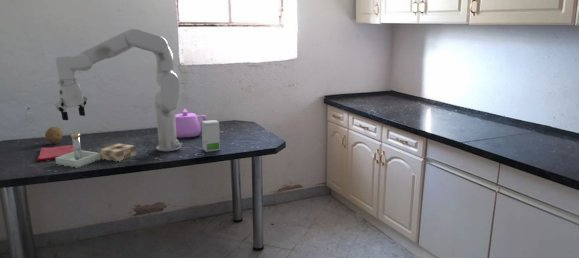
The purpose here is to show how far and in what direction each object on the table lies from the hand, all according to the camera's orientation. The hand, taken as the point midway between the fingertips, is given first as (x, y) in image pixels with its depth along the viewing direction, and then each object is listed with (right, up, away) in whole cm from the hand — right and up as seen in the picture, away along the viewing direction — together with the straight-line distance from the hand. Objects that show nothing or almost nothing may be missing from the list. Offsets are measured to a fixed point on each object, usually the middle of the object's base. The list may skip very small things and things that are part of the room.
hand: (74, 117), depth 209 cm
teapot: (+41, -10, +54) cm, 69 cm away
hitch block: (+16, -20, +13) cm, 29 cm away
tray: (0, -22, +5) cm, 22 cm away
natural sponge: (-29, -14, +38) cm, 50 cm away
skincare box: (+62, -17, +24) cm, 68 cm away
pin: (0, -21, +5) cm, 21 cm away
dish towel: (-18, -19, +19) cm, 33 cm away
